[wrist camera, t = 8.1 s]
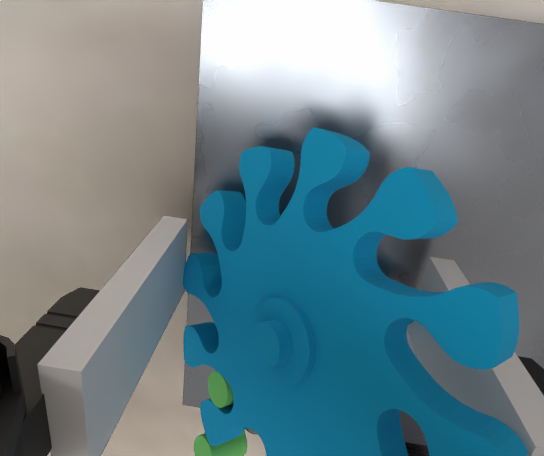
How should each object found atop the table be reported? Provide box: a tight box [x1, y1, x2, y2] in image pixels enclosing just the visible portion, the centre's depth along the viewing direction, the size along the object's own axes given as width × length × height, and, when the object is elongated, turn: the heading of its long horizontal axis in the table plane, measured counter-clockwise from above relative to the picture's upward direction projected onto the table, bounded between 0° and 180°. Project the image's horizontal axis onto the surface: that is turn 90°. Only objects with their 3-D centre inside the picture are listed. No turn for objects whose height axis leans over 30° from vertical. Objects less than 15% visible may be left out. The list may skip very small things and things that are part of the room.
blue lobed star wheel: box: [183, 127, 529, 456], centre depth 12 cm, size 11×6×10 cm
